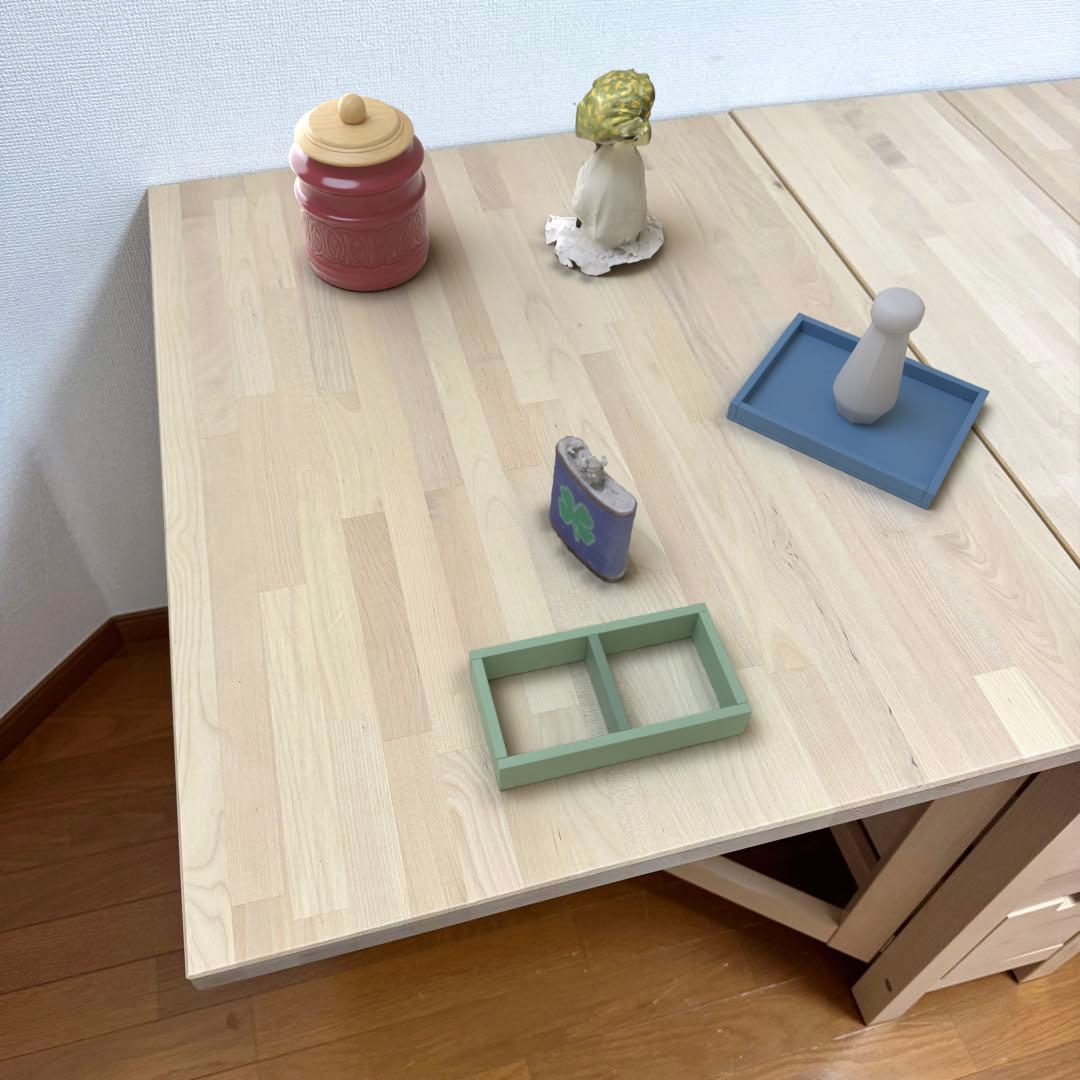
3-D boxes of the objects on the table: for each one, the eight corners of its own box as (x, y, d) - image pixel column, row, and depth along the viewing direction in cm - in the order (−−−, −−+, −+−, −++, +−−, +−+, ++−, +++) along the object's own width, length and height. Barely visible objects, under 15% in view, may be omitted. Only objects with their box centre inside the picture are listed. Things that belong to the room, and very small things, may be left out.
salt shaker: (894, 433, 92) (944, 323, 82) (832, 430, 92) (875, 320, 82) (881, 388, 96) (928, 278, 85) (822, 386, 96) (862, 275, 85)
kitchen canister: (432, 219, 110) (423, 61, 96) (427, 295, 102) (417, 135, 88) (313, 218, 110) (287, 58, 96) (299, 294, 102) (269, 132, 88)
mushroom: (686, 249, 109) (717, 85, 94) (596, 292, 104) (614, 126, 89) (615, 196, 114) (634, 34, 100) (526, 235, 109) (533, 70, 95)
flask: (631, 574, 82) (647, 489, 73) (602, 590, 81) (615, 505, 72) (566, 501, 86) (574, 413, 78) (538, 515, 85) (543, 427, 77)
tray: (981, 406, 95) (990, 390, 94) (927, 510, 87) (934, 495, 86) (793, 327, 101) (798, 312, 100) (725, 417, 93) (730, 402, 92)
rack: (697, 626, 79) (704, 601, 76) (742, 734, 73) (752, 711, 71) (469, 674, 76) (468, 650, 73) (499, 791, 70) (499, 769, 67)
